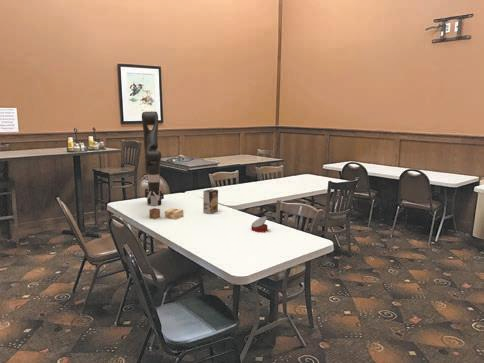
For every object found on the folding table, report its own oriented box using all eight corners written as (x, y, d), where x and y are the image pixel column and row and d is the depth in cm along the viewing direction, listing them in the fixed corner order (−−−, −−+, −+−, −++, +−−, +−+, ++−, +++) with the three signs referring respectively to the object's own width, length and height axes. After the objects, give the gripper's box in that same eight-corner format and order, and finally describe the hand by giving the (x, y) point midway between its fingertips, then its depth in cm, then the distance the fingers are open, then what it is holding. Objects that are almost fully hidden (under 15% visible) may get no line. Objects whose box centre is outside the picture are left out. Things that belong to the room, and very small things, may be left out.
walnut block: (149, 218, 274) (149, 209, 272) (154, 216, 278) (154, 208, 277) (155, 219, 271) (155, 210, 270) (160, 217, 276) (160, 209, 274)
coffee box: (210, 214, 285) (210, 191, 283) (203, 213, 289) (203, 190, 286) (218, 211, 293) (218, 189, 290) (211, 210, 296) (211, 188, 294)
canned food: (264, 239, 247) (264, 227, 240) (249, 235, 250) (248, 224, 244) (270, 226, 255) (270, 215, 249) (255, 223, 258) (254, 211, 252)
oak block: (164, 218, 275) (164, 211, 274) (172, 215, 283) (172, 208, 282) (175, 219, 271) (175, 212, 270) (183, 216, 279) (183, 209, 278)
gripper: (141, 180, 270) (142, 204, 273) (158, 182, 264) (159, 207, 266) (149, 179, 277) (150, 202, 279) (165, 181, 270) (166, 205, 273)
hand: (154, 204), depth 273 cm, fingers open, 8 cm apart
